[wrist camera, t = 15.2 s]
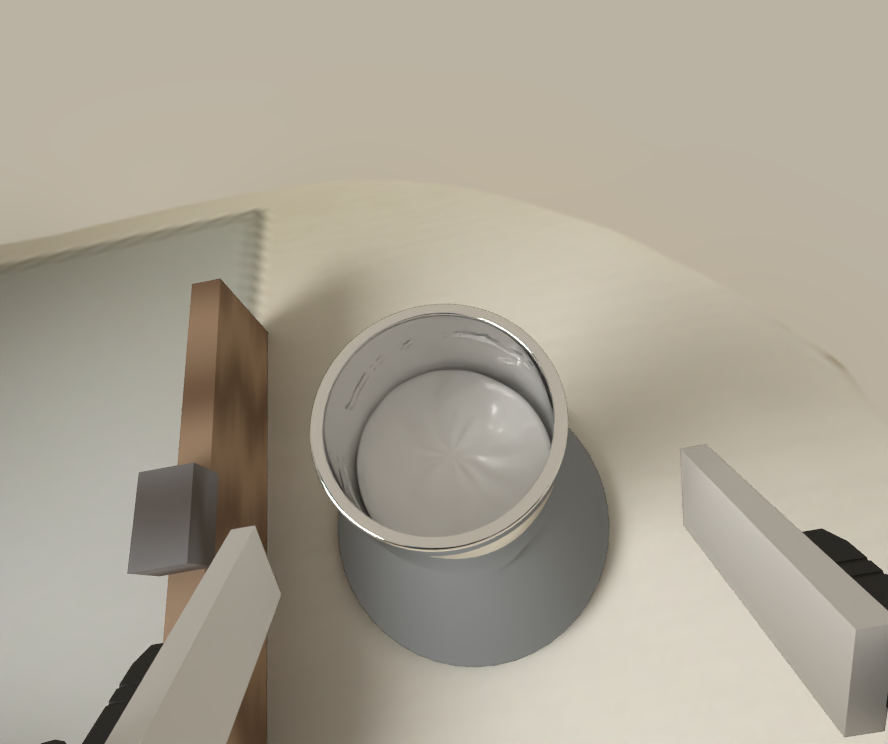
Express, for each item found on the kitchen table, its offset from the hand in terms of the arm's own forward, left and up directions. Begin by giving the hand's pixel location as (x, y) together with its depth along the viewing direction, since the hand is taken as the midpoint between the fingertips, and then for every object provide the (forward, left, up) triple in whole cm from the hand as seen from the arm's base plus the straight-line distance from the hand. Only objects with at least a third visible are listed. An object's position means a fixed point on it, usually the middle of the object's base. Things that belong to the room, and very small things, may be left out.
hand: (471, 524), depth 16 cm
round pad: (-2, +1, -11) cm, 12 cm away
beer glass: (-2, +1, -11) cm, 11 cm away
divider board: (-9, -9, -11) cm, 17 cm away
